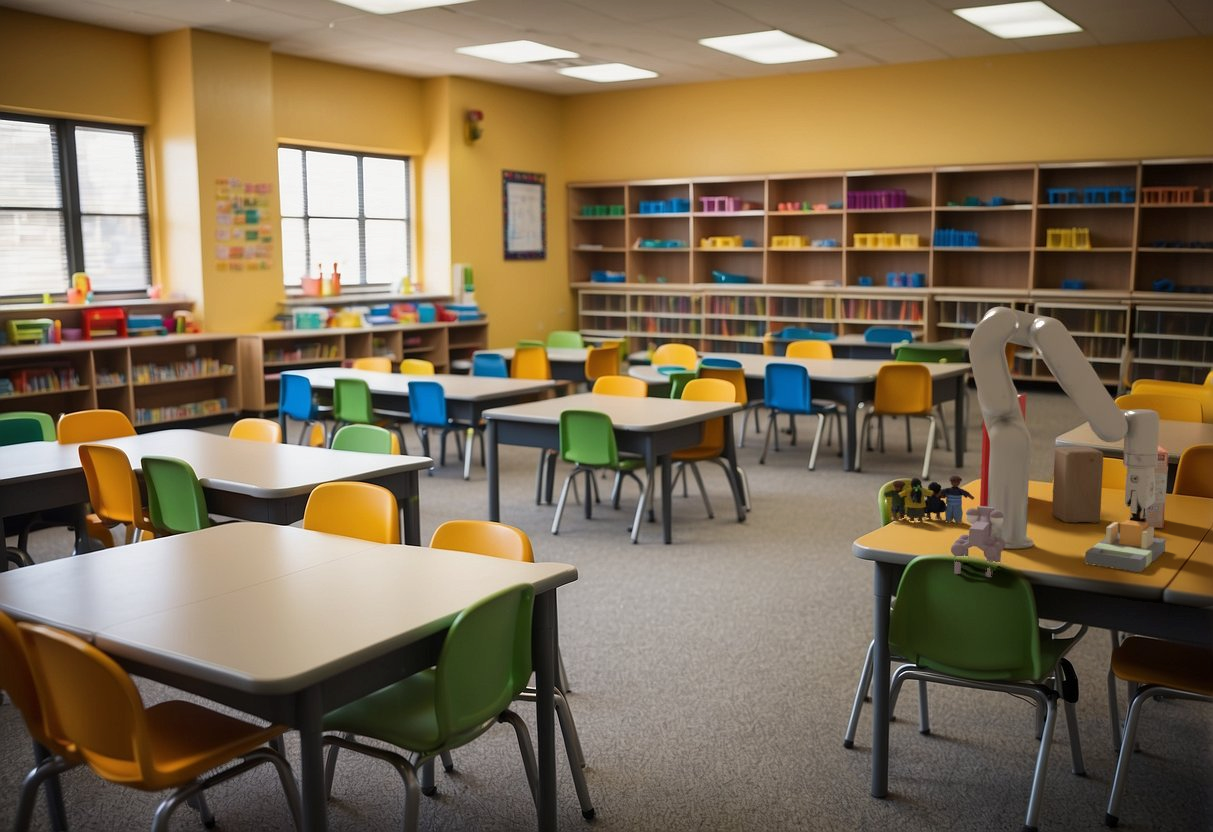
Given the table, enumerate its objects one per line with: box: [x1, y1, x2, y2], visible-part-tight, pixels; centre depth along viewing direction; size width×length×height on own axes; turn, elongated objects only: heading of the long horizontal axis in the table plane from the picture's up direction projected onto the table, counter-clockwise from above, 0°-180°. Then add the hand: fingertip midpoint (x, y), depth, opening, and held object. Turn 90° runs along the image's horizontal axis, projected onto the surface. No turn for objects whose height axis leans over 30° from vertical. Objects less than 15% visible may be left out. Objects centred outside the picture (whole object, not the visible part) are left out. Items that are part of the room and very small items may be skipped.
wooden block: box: [1051, 445, 1104, 523], centre depth 299 cm, size 10×10×20 cm
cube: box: [1119, 519, 1148, 547], centre depth 262 cm, size 5×5×5 cm
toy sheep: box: [950, 505, 1006, 578], centre depth 254 cm, size 20×11×14 cm, turn 151°
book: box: [979, 392, 1027, 507], centre depth 321 cm, size 27×8×32 cm, turn 151°
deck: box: [1084, 521, 1167, 573], centre depth 260 cm, size 24×12×7 cm, turn 141°
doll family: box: [883, 475, 975, 524], centre depth 300 cm, size 23×9×13 cm, turn 91°
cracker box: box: [1143, 444, 1170, 530], centre depth 294 cm, size 14×6×21 cm, turn 161°
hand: (1137, 533), depth 266 cm, fingers closed
